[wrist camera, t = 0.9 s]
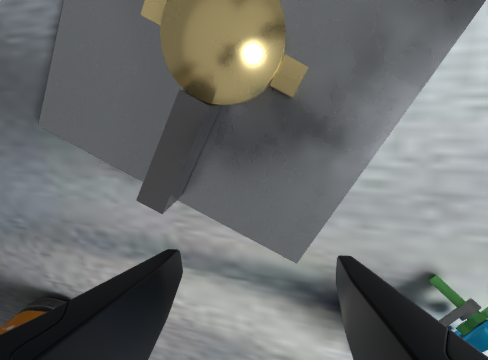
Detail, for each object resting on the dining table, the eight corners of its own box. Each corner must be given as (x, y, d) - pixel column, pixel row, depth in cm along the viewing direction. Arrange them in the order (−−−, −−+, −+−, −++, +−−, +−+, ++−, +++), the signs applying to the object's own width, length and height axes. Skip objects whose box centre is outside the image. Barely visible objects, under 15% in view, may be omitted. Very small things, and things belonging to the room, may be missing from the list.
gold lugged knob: (193, -77, 15) (170, -123, 12) (341, 5, 15) (356, -20, 12) (114, 161, 20) (84, 172, 17) (224, 220, 21) (213, 241, 17)
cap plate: (136, -276, 14) (80, -418, 10) (520, -60, 14) (607, -119, 10) (48, 124, 22) (-1, 129, 18) (296, 256, 22) (298, 288, 18)
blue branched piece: (398, 396, 23) (385, 448, 15) (350, 331, 27) (319, 346, 19) (505, 323, 21) (553, 340, 13) (437, 263, 25) (443, 249, 17)
